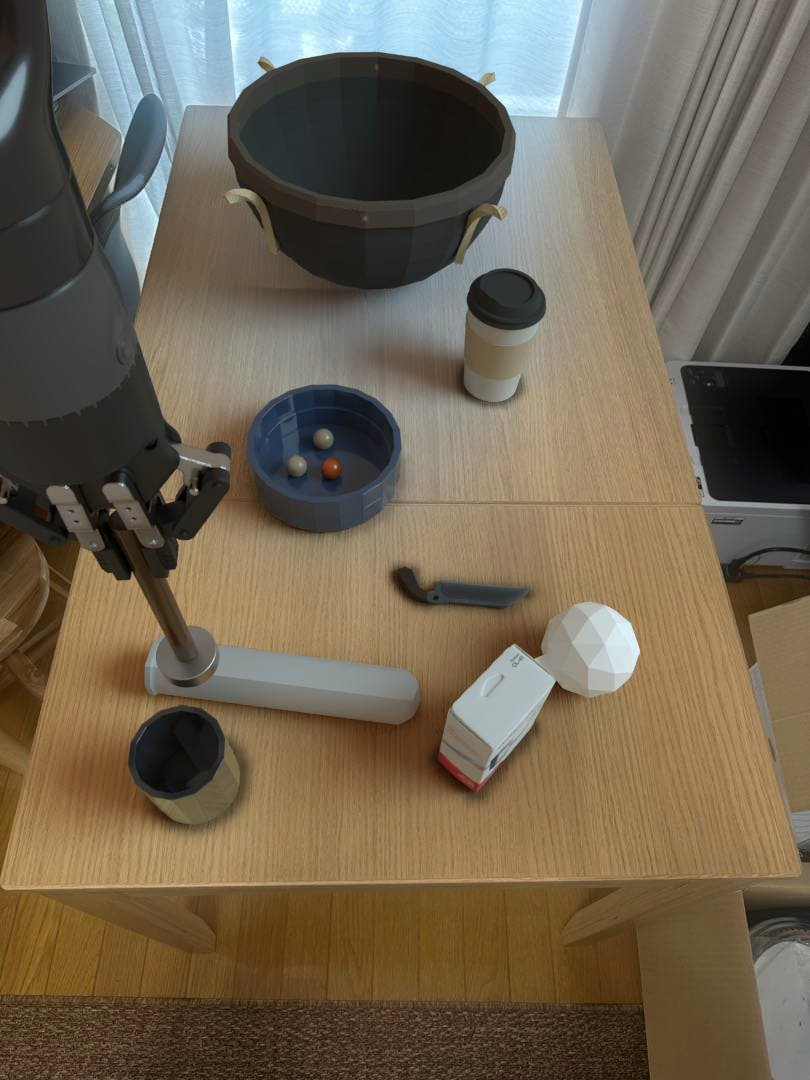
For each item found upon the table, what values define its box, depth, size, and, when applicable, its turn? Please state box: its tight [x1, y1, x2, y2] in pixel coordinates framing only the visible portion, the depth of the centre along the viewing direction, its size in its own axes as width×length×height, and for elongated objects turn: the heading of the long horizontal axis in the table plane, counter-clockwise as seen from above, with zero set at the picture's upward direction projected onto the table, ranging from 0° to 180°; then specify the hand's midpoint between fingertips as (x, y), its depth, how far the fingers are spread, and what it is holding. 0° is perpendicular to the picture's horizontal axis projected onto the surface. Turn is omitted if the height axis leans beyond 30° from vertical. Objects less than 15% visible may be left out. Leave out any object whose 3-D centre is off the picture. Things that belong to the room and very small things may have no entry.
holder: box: [127, 704, 241, 826], centre depth 62 cm, size 7×8×9 cm
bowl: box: [222, 51, 517, 291], centre depth 98 cm, size 35×35×20 cm
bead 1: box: [285, 455, 307, 477], centre depth 83 cm, size 2×2×2 cm
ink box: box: [437, 643, 557, 793], centre depth 64 cm, size 9×5×12 cm, turn 137°
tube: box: [143, 633, 422, 726], centre depth 69 cm, size 5×5×25 cm
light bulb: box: [533, 600, 641, 699], centre depth 70 cm, size 9×9×12 cm
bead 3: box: [320, 458, 342, 479], centre depth 83 cm, size 2×2×2 cm
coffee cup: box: [463, 267, 547, 403], centre depth 88 cm, size 9×9×15 cm
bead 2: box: [313, 429, 334, 449], centre depth 86 cm, size 2×2×2 cm
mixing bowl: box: [245, 383, 403, 533], centre depth 83 cm, size 17×17×6 cm
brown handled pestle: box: [108, 509, 220, 688], centre depth 48 cm, size 4×4×19 cm
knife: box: [397, 566, 531, 609], centre depth 77 cm, size 14×4×1 cm, turn 86°
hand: (144, 565), depth 44 cm, fingers closed on brown handled pestle
